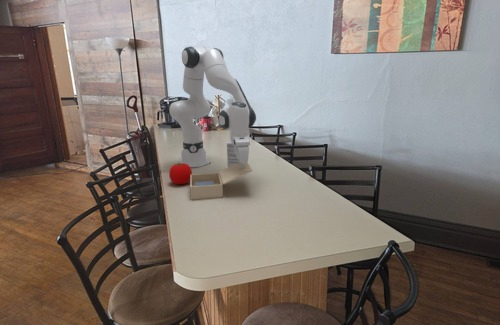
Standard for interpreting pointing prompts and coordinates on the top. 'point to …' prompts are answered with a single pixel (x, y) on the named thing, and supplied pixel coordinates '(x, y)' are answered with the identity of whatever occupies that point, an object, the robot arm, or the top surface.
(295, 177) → the top surface
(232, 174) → the lid
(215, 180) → the box
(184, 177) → the tomato
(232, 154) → the supplement box
